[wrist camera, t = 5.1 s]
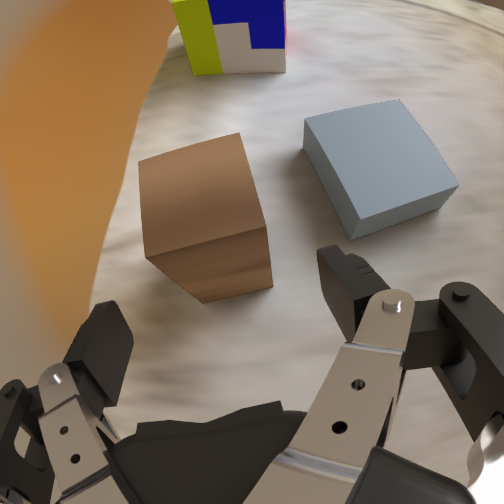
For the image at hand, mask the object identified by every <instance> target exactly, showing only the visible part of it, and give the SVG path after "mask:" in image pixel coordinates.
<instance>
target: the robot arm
mask: <svg viewBox="0 0 504 504" xmlns="http://www.w3.org/2000/svg"><path fill="white" fill-rule="evenodd" d="M317 261H318V268H319V274H320V281H321V288H322V292H323V296H324V298H325V301H326V303H327V305H328V306H329V308H330V310H331V312H332V314H333V316H334V318H335V319H336V321H337V323H338V325H339V327H340V329H341V331H342V333H343V334H344V336H345V338H346V340H347V342H345V343H344V344H343V345H342V347H341V349H340V351H339V353H338V355H337V357H336V359H335V361H334V363H333V365H332V367H331V369H330V371H329V373H328V375H327V377H326V379H325V381H324V383H323V385H322V387H321V389H320V391H319V393H318V395H317V396H316V398H315V400H314V402H313V404H312V406H311V408H310V409H309V411H308V412H302V411H283V408H282V405H281V401H280V400H279V401H275V402H271V403H266V404H262V405H257V406H253V407H248V408H243V409H240V410H238V411H235V412H233V413H230V414H228V415H225V416H223V417H220V418H218V419H215V420H212V421H210V422H206V423H194V422H183V421H174V420H165V421H155V422H143V423H138V424H137V429H136V434H133V435H131V436H128V437H126V438H124V439H122V440H121V439H120V437H119V436H118V434H117V432H116V431H115V429H114V427H113V426H112V424H111V422H110V421H109V419H108V417H107V416H106V415H105V413H104V412H103V409H104V407H114V406H117V402H118V398H119V394H120V391H121V387H122V383H123V379H124V376H125V372H126V369H127V365H128V362H129V358H130V355H131V352H132V348H133V343H134V341H133V335H132V332H131V330H130V328H129V326H128V324H127V322H126V321H125V319H124V317H123V315H122V313H121V311H120V309H119V307H118V305H117V304H116V302H115V301H107V302H103V303H99V304H96V305H95V307H94V309H93V310H92V312H91V314H90V316H89V318H88V319H87V320H86V321H85V322H84V323H83V324H82V325H81V327H80V328H79V331H78V332H77V334H76V336H75V338H74V340H73V343H72V344H71V346H70V348H69V350H68V352H67V354H66V356H65V358H64V360H63V362H62V363H58V364H54V365H52V366H51V367H49V368H47V369H46V370H45V371H44V372H43V373H42V375H41V376H40V378H39V381H38V385H36V386H34V387H31V388H28V389H27V388H26V386H25V385H24V384H23V383H22V381H21V380H18V379H15V380H12V381H10V382H8V383H7V384H5V385H4V386H3V388H2V389H1V390H0V504H50V499H51V493H52V488H53V483H54V479H55V476H56V478H57V481H58V484H59V487H60V489H61V492H62V496H61V497H60V499H59V500H58V501H57V502H56V503H55V504H504V314H503V313H502V312H501V311H500V310H499V309H498V308H497V307H496V306H495V305H494V304H493V303H492V302H491V301H490V300H489V299H488V298H487V297H486V296H485V295H484V294H483V293H482V292H481V291H480V290H479V289H478V288H476V287H475V286H473V285H472V284H469V283H465V282H452V283H449V284H446V285H445V286H443V287H442V289H441V290H440V295H439V299H435V300H426V301H414V298H413V297H412V296H411V295H410V294H409V293H407V292H405V291H402V290H397V289H391V288H390V287H389V286H388V285H387V284H386V283H385V282H384V280H383V279H382V278H381V277H380V276H379V275H378V274H377V273H376V272H375V270H374V269H373V268H372V267H371V266H369V264H368V263H367V262H366V261H365V260H364V259H363V258H362V257H359V256H357V255H355V254H349V255H345V254H344V253H343V252H342V251H341V249H340V248H339V247H338V246H337V245H332V246H329V247H325V248H321V249H317ZM428 367H432V369H433V371H434V372H435V374H436V376H437V377H438V379H439V381H440V382H441V384H442V386H443V387H444V389H445V391H446V392H447V394H448V396H449V398H450V399H451V401H452V403H453V405H454V406H455V408H456V410H457V412H458V413H459V415H460V417H461V419H462V421H463V423H464V424H465V426H466V428H467V430H468V432H469V434H470V436H471V438H472V439H473V441H474V444H473V446H472V447H471V449H470V451H469V453H468V457H467V466H468V469H469V474H470V479H469V484H468V487H467V488H466V487H465V486H463V485H462V484H461V483H459V482H457V481H455V480H453V479H451V478H448V477H446V476H443V475H441V474H438V473H436V472H434V471H431V470H429V469H427V468H424V467H422V466H420V465H417V464H415V463H413V462H411V461H409V460H406V459H404V458H402V457H400V456H398V455H396V454H394V453H392V452H390V451H388V450H386V449H384V448H385V445H386V442H387V440H388V437H389V433H390V430H391V427H392V423H393V419H394V416H395V412H396V409H397V406H398V402H399V399H400V395H401V392H402V388H403V384H404V381H405V377H406V373H407V370H412V369H420V368H428ZM19 426H21V427H22V428H23V429H24V430H25V431H26V432H27V433H28V434H29V435H30V436H31V439H30V442H29V445H28V449H27V452H26V455H25V458H23V457H21V456H20V455H19V454H18V453H17V451H16V449H15V446H14V440H15V437H16V434H17V432H18V429H19Z"/></svg>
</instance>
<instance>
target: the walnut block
mask: <svg viewBox="0 0 504 504" xmlns="http://www.w3.org/2000/svg"><path fill="white" fill-rule="evenodd" d="M138 167H139V189H140V206H141V220H142V232H143V242H144V252H145V258H146V259H147V260H149V261H150V262H151V263H152V264H153V265H155V266H156V267H157V268H158V269H160V270H161V271H162V272H163V273H165V274H166V275H167V276H168V277H170V278H171V279H172V280H173V281H175V282H176V283H177V284H178V285H180V286H181V287H182V288H183V289H185V290H186V291H187V292H189V293H190V294H191V295H192V296H194V297H195V298H196V299H198V300H199V301H200V302H202V303H203V304H204V303H208V302H212V301H217V300H221V299H225V298H229V297H233V296H237V295H242V294H246V293H250V292H254V291H258V290H262V289H266V288H270V287H273V280H272V271H271V262H270V254H269V245H268V237H267V229H266V224H265V220H264V216H263V213H262V209H261V206H260V202H259V199H258V195H257V192H256V188H255V185H254V181H253V178H252V174H251V171H250V167H249V164H248V161H247V157H246V154H245V150H244V147H243V143H242V140H241V137H240V133H235V134H231V135H227V136H223V137H219V138H215V139H212V140H208V141H204V142H201V143H197V144H193V145H190V146H186V147H183V148H180V149H176V150H173V151H170V152H166V153H163V154H160V155H157V156H154V157H151V158H148V159H145V160H142V161H139V162H138Z"/></svg>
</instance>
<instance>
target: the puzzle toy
mask: <svg viewBox="0 0 504 504" xmlns="http://www.w3.org/2000/svg"><path fill="white" fill-rule="evenodd" d="M172 6H173V9H174V12H175V16H176V19H177V22H178V26H179V29H180V32H181V36H182V39H183V42H184V46H185V49H186V52H187V56H188V59H189V62H190V65H191V69H192V72H193V75H194V76H199V75H212V74H228V73H263V72H272V73H286V8H285V0H173V1H172Z"/></svg>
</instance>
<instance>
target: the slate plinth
mask: <svg viewBox="0 0 504 504" xmlns="http://www.w3.org/2000/svg"><path fill="white" fill-rule="evenodd" d="M303 149H304V151H305V153H306V155H307V156H308V158H309V160H310V162H311V164H312V166H313V168H314V170H315V172H316V174H317V175H318V177H319V179H320V181H321V183H322V185H323V187H324V189H325V191H326V193H327V195H328V197H329V199H330V201H331V203H332V205H333V207H334V209H335V211H336V214H337V216H338V218H339V220H340V222H341V224H342V226H343V228H344V230H345V233H346V235H347V237H348V239H349V241H352V240H354V239H357V238H360V237H363V236H365V235H368V234H371V233H374V232H376V231H379V230H382V229H384V228H387V227H390V226H393V225H395V224H398V223H401V222H403V221H406V220H409V219H411V218H414V217H417V216H419V215H422V214H425V213H427V212H430V211H433V210H435V209H438V208H440V207H441V206H442V205H443V204H444V203H445V202H446V201H447V199H448V198H449V197H450V196H451V195H452V194H453V192H454V191H455V190H456V189H457V188H458V186H459V183H458V181H457V180H456V178H455V176H454V175H453V173H452V171H451V170H450V168H449V167H448V165H447V164H446V162H445V161H444V159H443V158H442V156H441V155H440V153H439V152H438V150H437V149H436V147H435V146H434V144H433V143H432V141H431V140H430V139H429V137H428V136H427V134H426V133H425V132H424V130H423V129H422V128H421V126H420V125H419V124H418V122H417V121H416V120H415V118H414V117H413V116H412V114H411V113H410V112H409V111H408V109H407V108H406V107H405V106H404V104H403V103H402V102H401V101H400V99H399V100H393V101H386V102H381V103H375V104H369V105H364V106H359V107H354V108H349V109H344V110H339V111H335V112H330V113H326V114H321V115H317V116H313V117H309V118H305V121H304V138H303Z"/></svg>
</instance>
